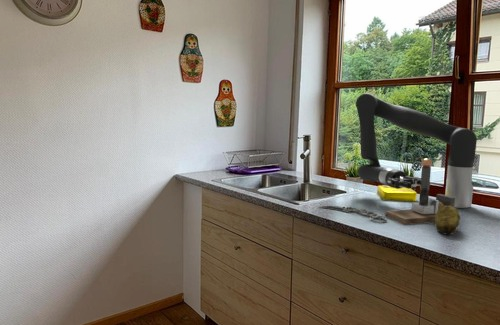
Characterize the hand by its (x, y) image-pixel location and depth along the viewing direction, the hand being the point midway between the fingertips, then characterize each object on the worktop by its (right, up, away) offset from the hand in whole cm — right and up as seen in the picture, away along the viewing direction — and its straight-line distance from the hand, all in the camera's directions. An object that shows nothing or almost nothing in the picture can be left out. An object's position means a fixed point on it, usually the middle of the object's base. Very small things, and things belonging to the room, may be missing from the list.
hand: (420, 185), depth 137 cm
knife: (-24, -12, +4) cm, 27 cm away
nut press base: (0, -12, -1) cm, 12 cm away
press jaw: (+1, -10, -1) cm, 10 cm away
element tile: (+4, -8, +34) cm, 35 cm away
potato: (+1, -14, -16) cm, 21 cm away
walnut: (+7, -10, 0) cm, 12 cm away
